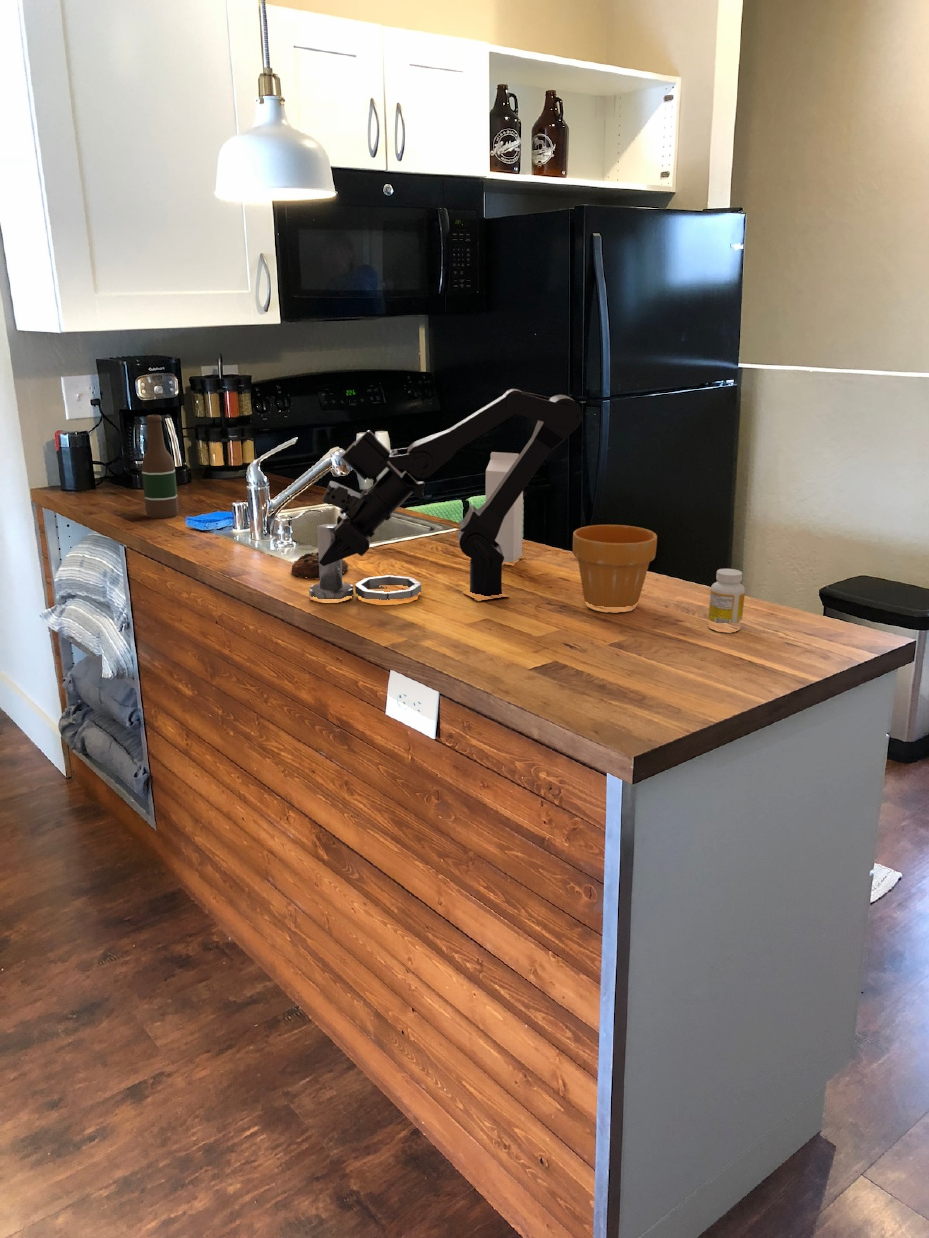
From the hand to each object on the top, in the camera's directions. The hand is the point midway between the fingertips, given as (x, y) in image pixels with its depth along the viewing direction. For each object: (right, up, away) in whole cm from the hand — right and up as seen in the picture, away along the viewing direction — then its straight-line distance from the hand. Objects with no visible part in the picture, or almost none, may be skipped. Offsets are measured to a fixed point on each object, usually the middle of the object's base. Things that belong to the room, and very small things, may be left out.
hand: (322, 561), depth 178 cm
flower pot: (+51, -8, -2) cm, 51 cm away
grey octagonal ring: (+12, -6, +3) cm, 13 cm away
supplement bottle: (+68, -12, -14) cm, 70 cm away
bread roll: (-3, -2, +19) cm, 19 cm away
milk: (+33, +1, +27) cm, 42 cm away
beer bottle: (-48, +15, +68) cm, 84 cm away
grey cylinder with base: (+1, -6, +2) cm, 7 cm away
